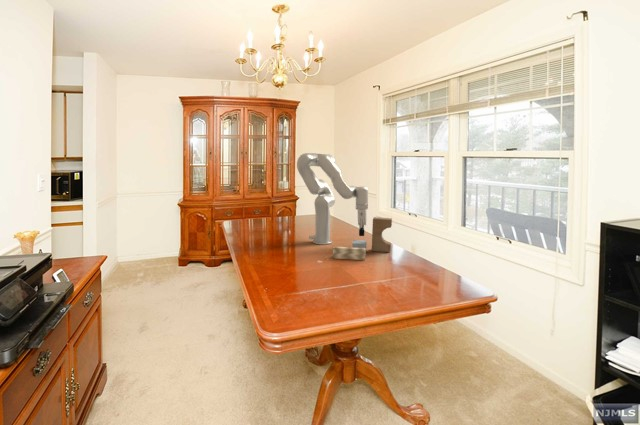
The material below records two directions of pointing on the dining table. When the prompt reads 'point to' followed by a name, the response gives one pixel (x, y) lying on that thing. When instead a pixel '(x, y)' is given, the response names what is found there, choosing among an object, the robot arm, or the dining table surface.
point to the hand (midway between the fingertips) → (361, 235)
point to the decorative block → (380, 234)
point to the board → (349, 253)
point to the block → (359, 244)
